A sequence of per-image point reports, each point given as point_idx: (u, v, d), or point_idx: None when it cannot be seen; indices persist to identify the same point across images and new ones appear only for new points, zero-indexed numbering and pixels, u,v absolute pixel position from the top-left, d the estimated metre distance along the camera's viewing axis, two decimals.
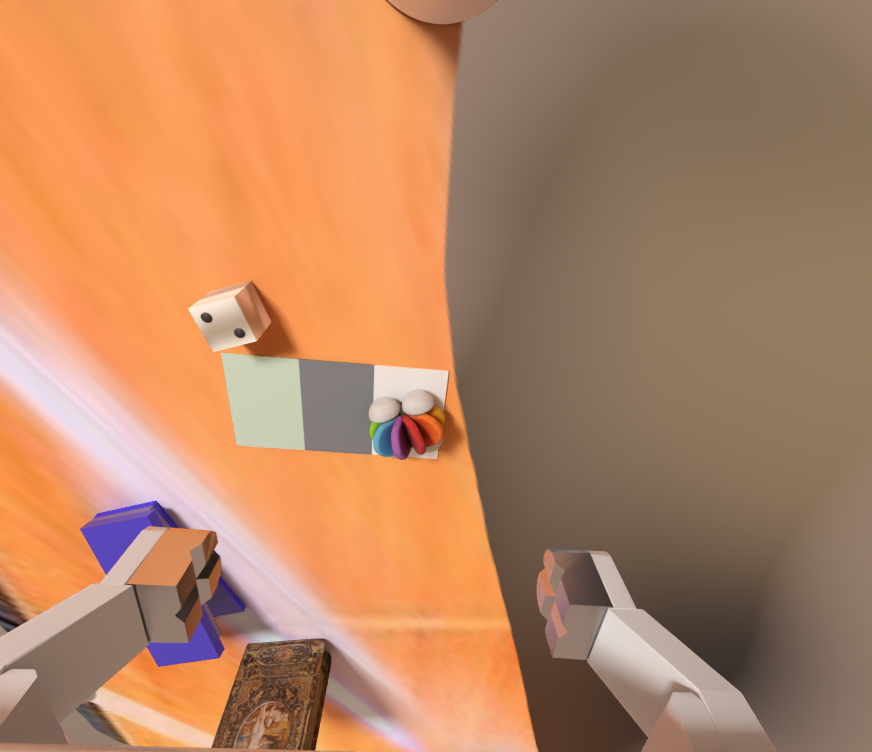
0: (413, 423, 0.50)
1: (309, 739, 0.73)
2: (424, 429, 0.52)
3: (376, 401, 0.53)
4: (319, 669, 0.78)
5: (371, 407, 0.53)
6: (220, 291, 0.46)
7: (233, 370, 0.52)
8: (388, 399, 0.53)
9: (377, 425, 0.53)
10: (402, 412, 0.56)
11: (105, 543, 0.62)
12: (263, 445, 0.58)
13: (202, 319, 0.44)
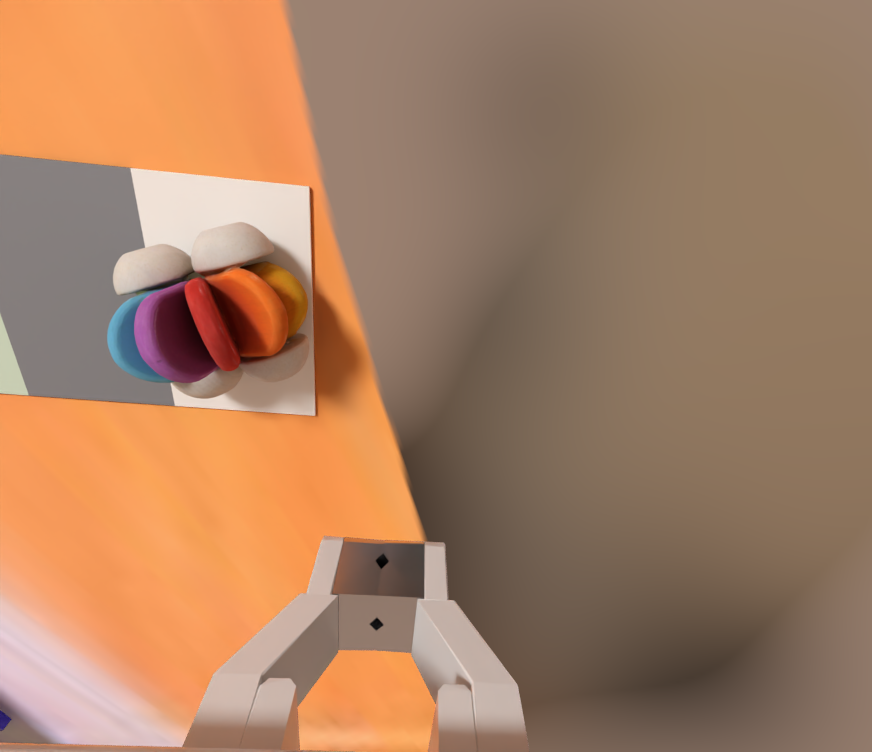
0: (197, 282, 0.20)
1: None
2: (240, 309, 0.21)
3: None
4: None
5: None
6: None
7: None
8: (161, 244, 0.22)
9: None
10: None
11: None
12: None
13: None
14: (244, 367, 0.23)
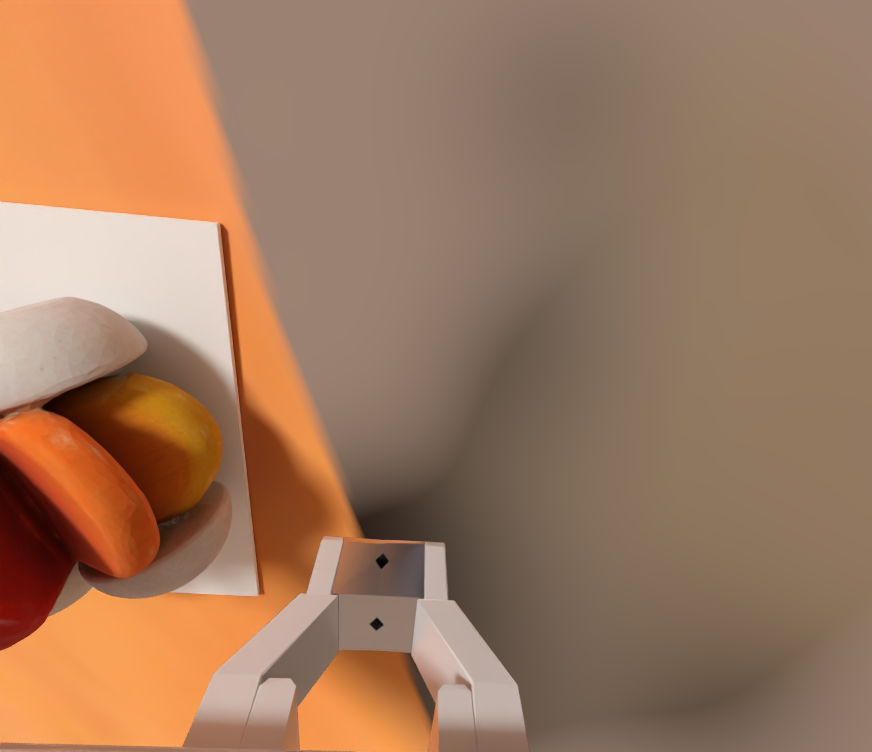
0: None
1: None
2: (46, 497, 0.10)
3: None
4: None
5: None
6: None
7: None
8: None
9: None
10: None
11: None
12: None
13: None
14: (86, 582, 0.12)
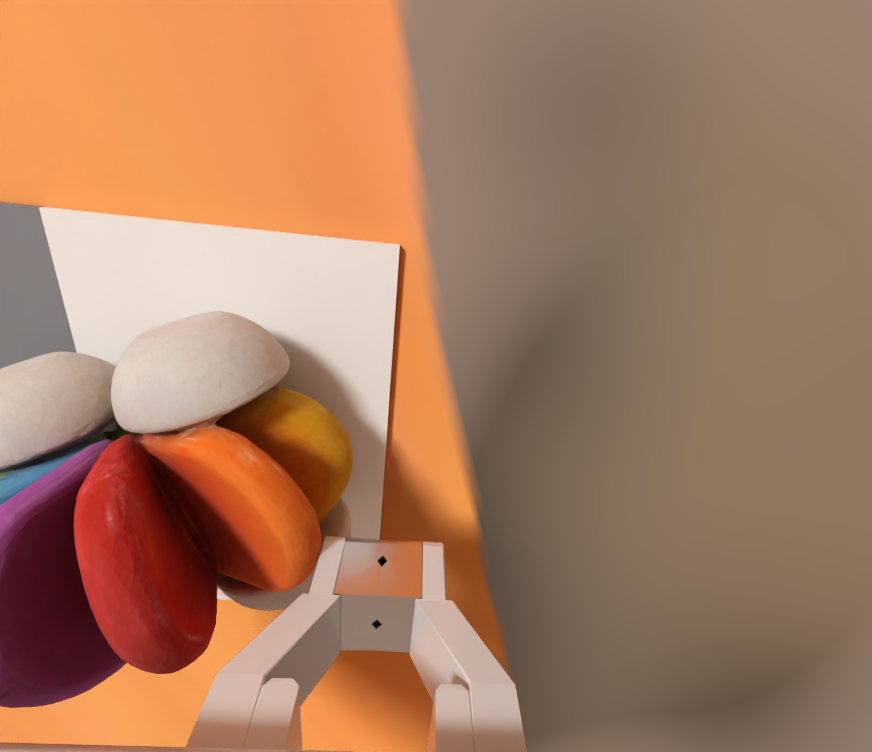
0: (109, 482, 0.08)
1: None
2: (216, 512, 0.10)
3: (1, 369, 0.11)
4: None
5: None
6: None
7: None
8: (55, 357, 0.11)
9: None
10: None
11: None
12: None
13: None
14: (226, 594, 0.12)
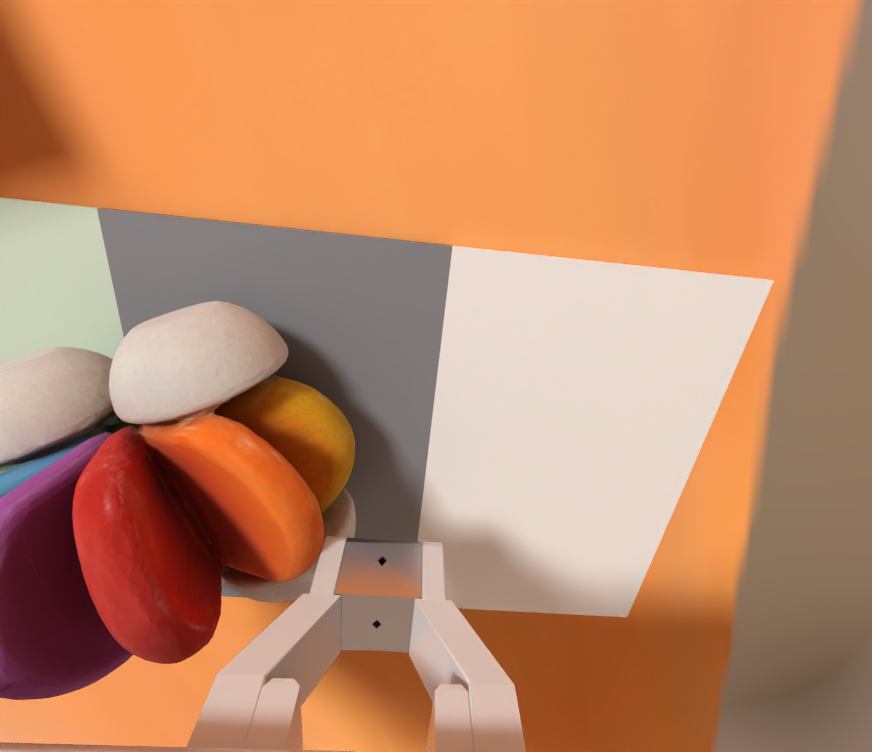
0: (107, 471, 0.08)
1: None
2: (217, 502, 0.10)
3: (1, 365, 0.11)
4: None
5: None
6: None
7: None
8: (53, 352, 0.11)
9: None
10: (540, 461, 0.15)
11: None
12: None
13: None
14: None
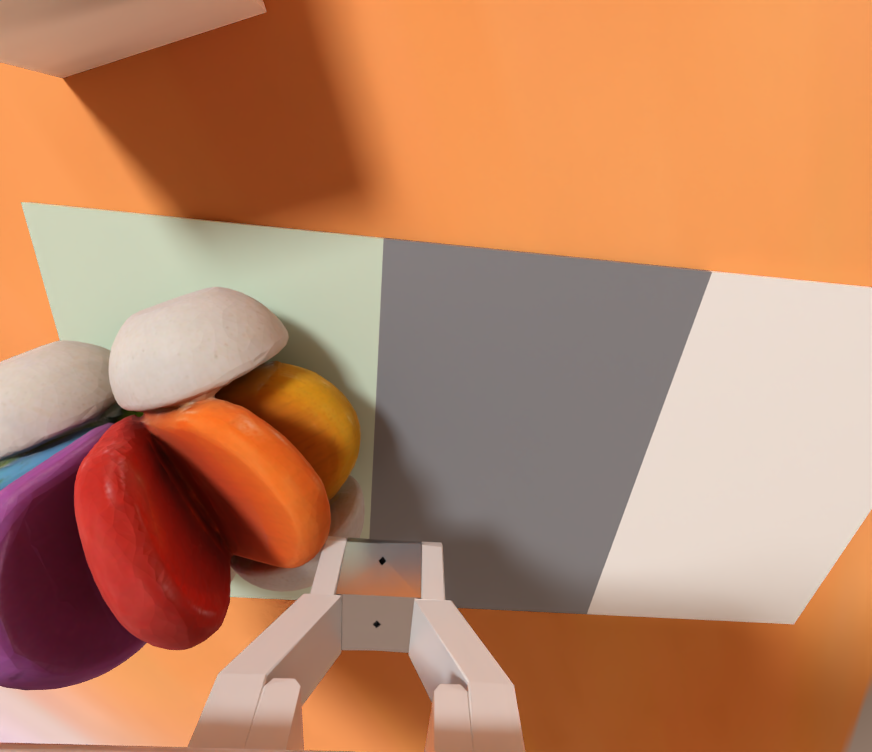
0: (108, 456, 0.08)
1: None
2: (221, 488, 0.09)
3: (3, 361, 0.11)
4: None
5: None
6: None
7: (89, 291, 0.12)
8: (53, 345, 0.10)
9: None
10: (746, 474, 0.15)
11: None
12: None
13: None
14: (242, 576, 0.11)
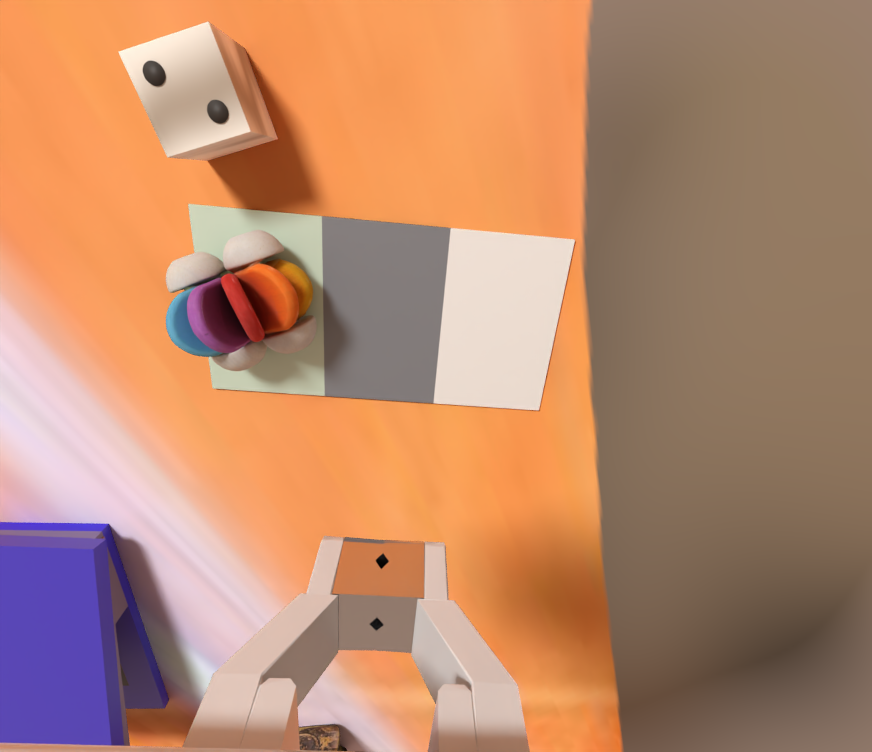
0: (230, 274, 0.27)
1: None
2: (262, 294, 0.28)
3: None
4: None
5: None
6: None
7: (209, 238, 0.31)
8: (199, 252, 0.29)
9: None
10: (490, 322, 0.34)
11: None
12: (256, 387, 0.35)
13: (146, 78, 0.23)
14: (267, 341, 0.30)
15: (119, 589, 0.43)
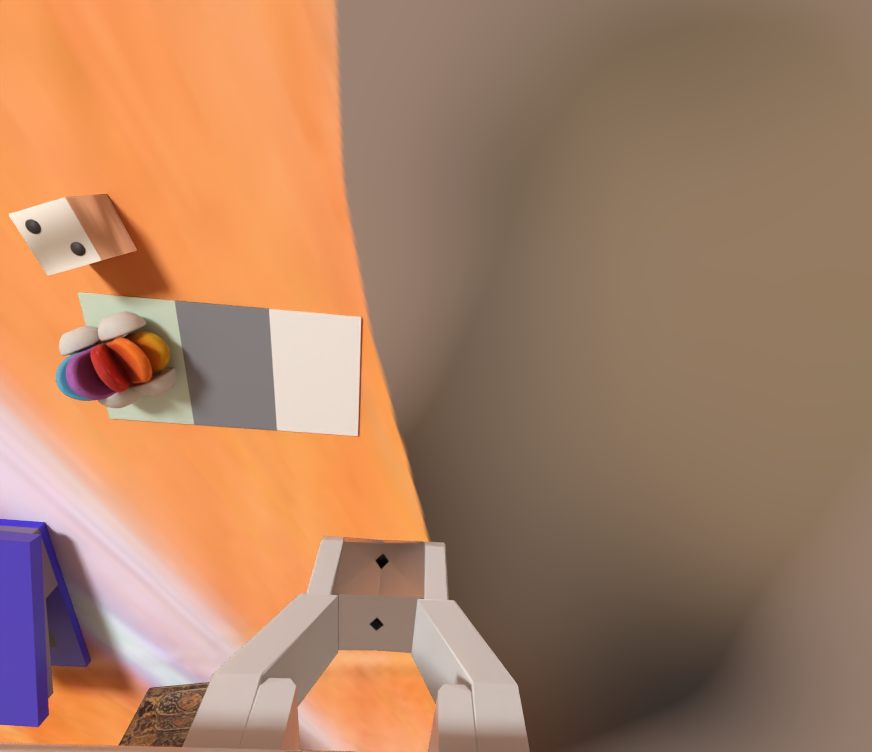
0: (97, 347, 0.39)
1: None
2: (124, 359, 0.40)
3: None
4: None
5: None
6: None
7: (95, 315, 0.43)
8: (84, 326, 0.41)
9: None
10: (309, 373, 0.46)
11: None
12: (142, 418, 0.48)
13: (28, 229, 0.35)
14: (134, 389, 0.42)
15: (51, 572, 0.56)
